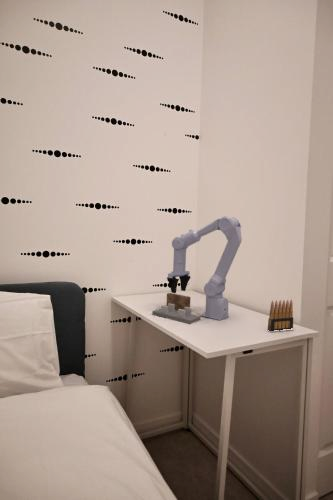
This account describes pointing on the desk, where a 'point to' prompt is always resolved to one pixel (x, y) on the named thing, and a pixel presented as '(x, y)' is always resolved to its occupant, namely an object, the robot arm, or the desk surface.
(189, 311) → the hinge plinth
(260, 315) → the desk surface
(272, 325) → the ammunition clip
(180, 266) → the robot arm
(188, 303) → the door panel
